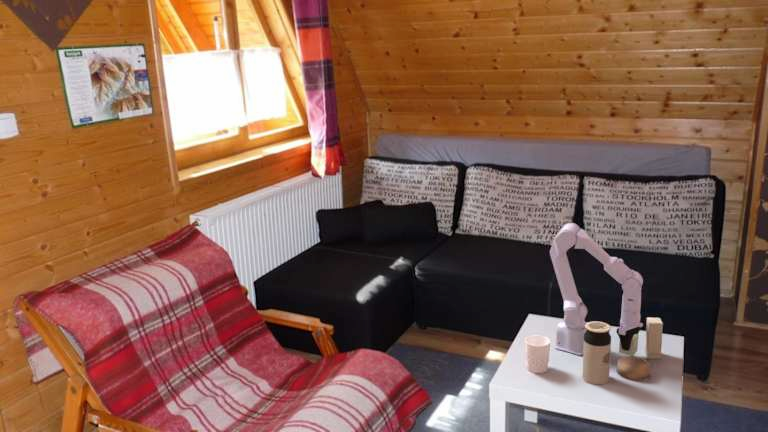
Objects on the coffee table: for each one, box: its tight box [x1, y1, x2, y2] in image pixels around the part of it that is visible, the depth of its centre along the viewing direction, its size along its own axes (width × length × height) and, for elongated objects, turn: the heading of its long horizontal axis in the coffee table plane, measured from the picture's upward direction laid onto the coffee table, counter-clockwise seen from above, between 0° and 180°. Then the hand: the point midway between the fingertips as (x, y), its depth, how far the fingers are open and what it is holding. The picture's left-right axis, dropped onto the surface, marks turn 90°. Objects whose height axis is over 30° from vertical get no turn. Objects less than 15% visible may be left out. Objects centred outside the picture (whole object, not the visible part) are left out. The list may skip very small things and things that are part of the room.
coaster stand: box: [616, 356, 652, 382], centre depth 203 cm, size 10×10×3 cm
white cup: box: [524, 334, 551, 374], centre depth 208 cm, size 8×8×10 cm
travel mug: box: [581, 320, 612, 385], centre depth 199 cm, size 8×8×18 cm
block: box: [618, 333, 639, 357], centre depth 212 cm, size 4×4×6 cm
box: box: [644, 316, 664, 360], centre depth 212 cm, size 5×4×13 cm
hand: (628, 346), depth 213 cm, fingers closed on block, 4 cm apart
